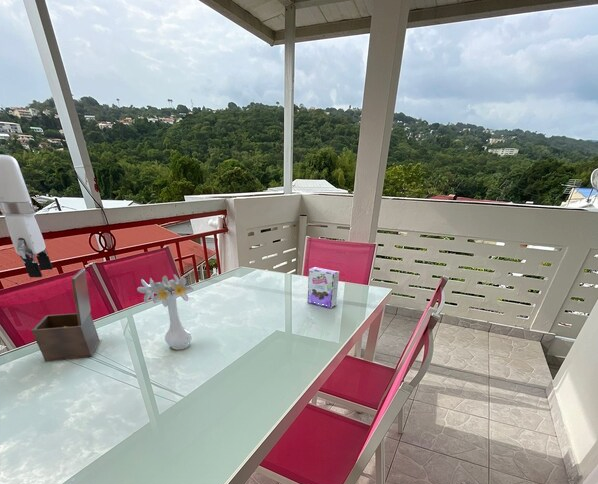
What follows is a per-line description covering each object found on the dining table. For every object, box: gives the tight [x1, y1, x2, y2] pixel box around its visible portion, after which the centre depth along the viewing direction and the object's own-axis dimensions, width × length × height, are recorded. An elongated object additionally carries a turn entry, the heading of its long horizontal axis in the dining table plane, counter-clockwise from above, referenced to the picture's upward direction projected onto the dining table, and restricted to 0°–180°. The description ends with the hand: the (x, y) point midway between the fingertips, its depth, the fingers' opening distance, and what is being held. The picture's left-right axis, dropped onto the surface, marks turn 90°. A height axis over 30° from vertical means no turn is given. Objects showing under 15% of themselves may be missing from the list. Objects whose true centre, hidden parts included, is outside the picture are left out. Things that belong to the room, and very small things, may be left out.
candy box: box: [307, 266, 340, 309], centre depth 160 cm, size 14×6×16 cm, turn 55°
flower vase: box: [136, 273, 194, 351], centre depth 114 cm, size 13×18×25 cm
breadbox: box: [31, 312, 100, 362], centre depth 113 cm, size 14×14×11 cm
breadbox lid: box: [70, 267, 92, 325], centre depth 108 cm, size 15×14×1 cm
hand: (41, 273), depth 101 cm, fingers open, 9 cm apart
